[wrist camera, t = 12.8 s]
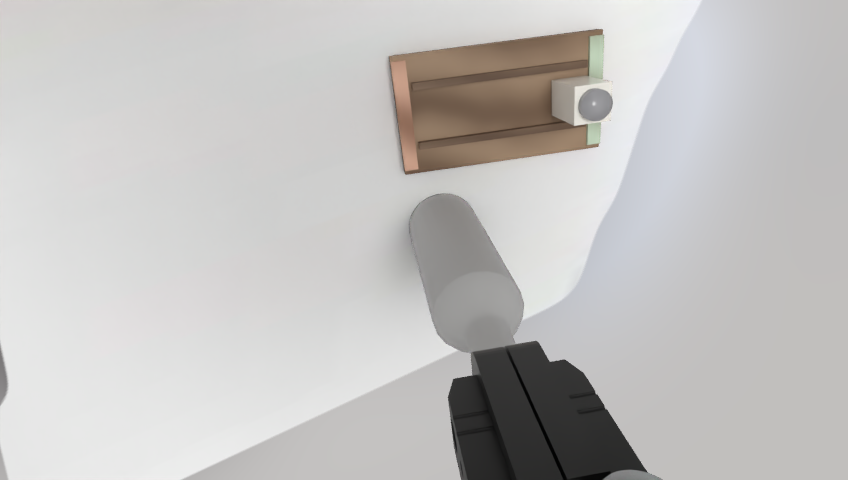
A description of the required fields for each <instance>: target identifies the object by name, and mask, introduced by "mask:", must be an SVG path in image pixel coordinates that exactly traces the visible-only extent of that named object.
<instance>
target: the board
mask: <svg viewBox="0 0 848 480" xmlns="http://www.w3.org/2000/svg"><path fill="white" fill-rule="evenodd" d="M603 52H604V35H603V29H595V30H588V31H580V32H572V33H564V34H557V35H549V36H541V37H533V38H525V39H518V40H510V41H502V42H494V43H487V44H479V45H471V46H463V47H456V48H448V49H440V50H432V51H425V52H417V53H409V54H401V55H394V56H389V60H390V67H391V74H392V82H393V89H394V97H395V104H396V112H397V119H398V127H399V134H400V142H401V149H402V156H403V164H404V171H405V174H413V173H420V172H427V171H434V170H441V169H448V168H455V167H462V166H469V165H476V164H483V163H489V162H496V161H503V160H510V159H517V158H524V157H531V156H538V155H545V154H552V153H559V152H566V151H572V150H579V149H586V148H593V147H598V146H599V143H600V132H601V122H598V123H591V124H584V125H577V126H573V125H571V124H569V123H567V122H565V121H563V120H561V119H559V118H557V117H554V116H552V80H555V79H563V78H570V77H577V76H585V75H586V76H590V77H594V78H599V79H603Z"/></svg>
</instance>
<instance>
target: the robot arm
mask: <svg viewBox="0 0 848 480" xmlns="http://www.w3.org/2000/svg"><path fill="white" fill-rule="evenodd" d="M471 363H472V375H473V376H467V377H462V378H456V379H453V382H452V386H451V389H450V392H449V396H448V401H449V408H450V417H451V425H452V434H453V441H454V449H455V454H456V458H457V463H458V467H459V471H460V476H461V480H662V479H661V478H659V477H657V476H655V475H652V474H649V473H648V472H647V471H646V469H645V468H644V467H643V465H642V463H641V462H640V460H639V459H638V457H637V456H636V454H635V453H634V451H633V449H632V448H631V446H630V445H629V443H628V442H627V440H626V439H625V437H624V435H623V434H622V432H621V431H620V429H619V428H618V426H617V424H616V423H615V421H614V420H613V418H612V417H611V415H610V414H609V412H608V410H606V409H605V407H604V404H603V403H602V401H601V400H600V398H599V396H598V395H596V394H595V390H594V389H593V387H592V385H591V384H590V382H589V381H588V379H587V378H586V376H585V375H584V373H583V372H581V371H580V370H579V369H577V368H576V367H574V366H573V365H572V364H570V363H569V362H568V361H566V360H560V361H554V362H549V360H548V358H547V356H546V355H545V353H544V351H543V349H542V348H541V346H540V344H539V343H538V342H537V341H533V342H526V343H520V344H514V345H508V346H505V347H497V348H491V349H486V350H480V351H474V352H471Z"/></svg>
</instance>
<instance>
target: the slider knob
mask: <svg viewBox="0 0 848 480" xmlns="http://www.w3.org/2000/svg"><path fill="white" fill-rule="evenodd" d="M612 105H613V101H612V81H608V80H603V79H599V78H594V77H590V76H586V75H585V76H577V77H570V78H563V79H555V80H552V116H554V117H557V118H559V119H561V120H563V121H565V122H567V123H569V124H571V125H573V126H577V125H584V124H591V123H598V122H605V121H611V109H612Z"/></svg>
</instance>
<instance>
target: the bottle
mask: <svg viewBox="0 0 848 480" xmlns="http://www.w3.org/2000/svg"><path fill="white" fill-rule="evenodd" d="M409 228H410V235H411V239H412V244H413V248H414V252H415V256H416V260H417V264H418V268H419V271H420V275H421V279H422V283H423V287H424V290H425V294H426V298H427V302H428V306H429V310H430V313H431V317H432V321H433V324H434V326H435V329H436V331H437V334H438V335H439V336H440V337H441V338H442V340H443V341H444V342H445V343H446V344H448V345H450V346H452V347H454V348H456V349H458V350H460V351H462V352H467V353H471V352H474V351H480V350H486V349H491V348H497V347H505V346H508V345H514V344H515V341H514V338H513V335H514V334H515V333H516V331H517V329H518V327H519V325H520V322H521V320H522V317H523V309H524V302H523V299H522V295H521V292H520V290H519V288H518V286H517V285H516V283H515V281H514V279H513V278H512V276H511V274H510V273H509V271H508V269H507V267H506V266H505V264H504V262H503V260H502V259H501V257H500V255H499V254H498V252H497V250H496V248H495V247H494V245H493V243H492V241H491V240H490V238H489V236H488V235H487V233H486V231H485V229H484V228H483V226H482V224H481V222H480V221H479V219H478V218H477V216H476V214H475V213H474V211H473V209H472V208H471V207H470V205H469V204H468V203H467V202H466V201H465V200H463V199H462V198H460V197H458V196H455V195H452V194H437V195H434V196H431V197H429V198H427V199H425V200H424V201H422V202H421V203H420V204H419V205H418V206H417V207H416V209H415V210H414V212H413V213H412V216H411V219H410V223H409Z"/></svg>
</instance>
